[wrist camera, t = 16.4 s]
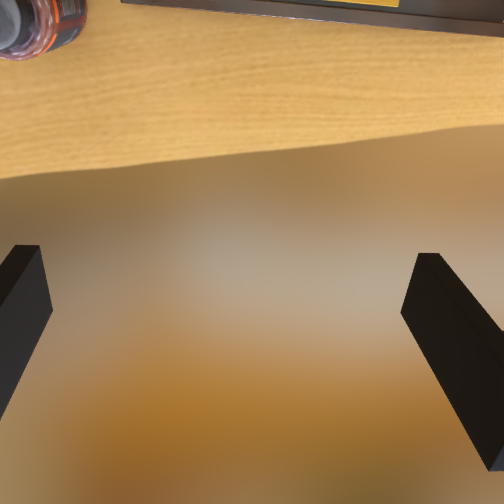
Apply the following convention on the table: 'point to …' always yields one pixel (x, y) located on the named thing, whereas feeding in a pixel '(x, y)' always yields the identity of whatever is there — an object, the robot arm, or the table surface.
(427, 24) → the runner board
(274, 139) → the table surface
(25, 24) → the supplement bottle
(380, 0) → the tray
